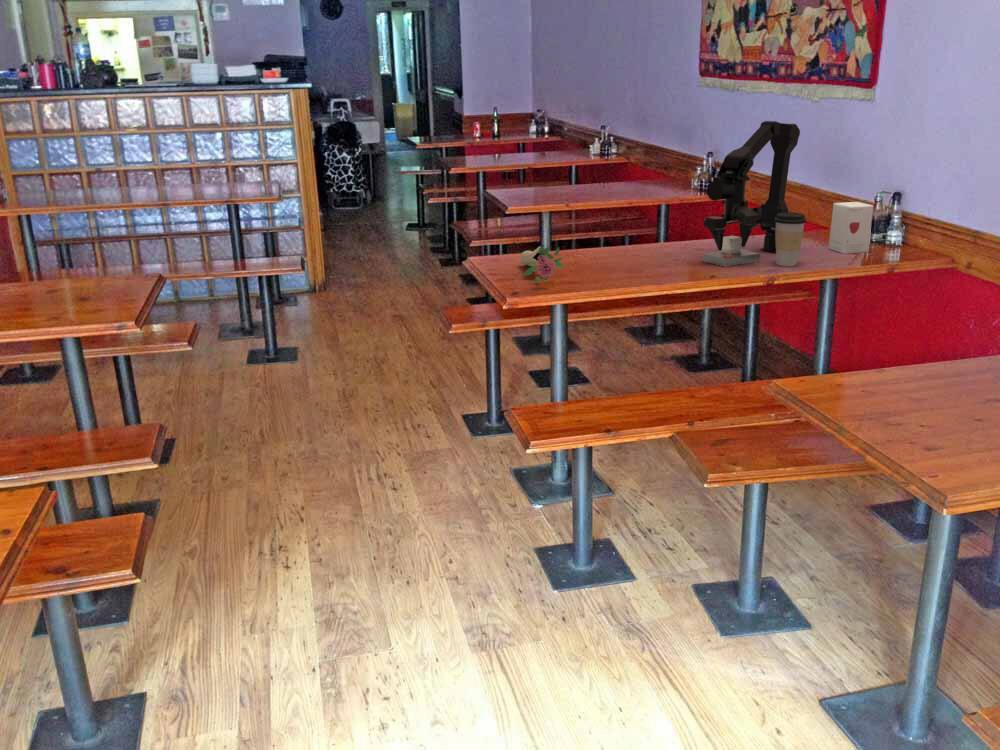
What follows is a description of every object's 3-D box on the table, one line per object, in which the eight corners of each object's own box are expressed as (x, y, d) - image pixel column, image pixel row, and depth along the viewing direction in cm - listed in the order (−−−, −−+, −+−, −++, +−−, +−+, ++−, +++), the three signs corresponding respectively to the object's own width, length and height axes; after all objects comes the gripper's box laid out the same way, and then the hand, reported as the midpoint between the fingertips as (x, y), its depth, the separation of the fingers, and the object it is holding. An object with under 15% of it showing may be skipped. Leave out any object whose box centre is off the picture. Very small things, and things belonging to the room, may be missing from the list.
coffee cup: (779, 268, 276) (783, 217, 271) (764, 262, 285) (768, 212, 280) (808, 266, 278) (813, 216, 273) (793, 260, 287) (797, 211, 282)
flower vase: (539, 290, 287) (567, 291, 252) (501, 280, 284) (524, 280, 250) (549, 253, 286) (578, 249, 252) (511, 243, 284) (535, 237, 249)
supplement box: (843, 254, 294) (848, 206, 289) (827, 249, 302) (832, 202, 297) (869, 252, 295) (874, 205, 291) (852, 247, 304) (857, 201, 299)
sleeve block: (736, 256, 294) (737, 246, 293) (759, 261, 285) (760, 252, 284) (702, 261, 287) (702, 251, 287) (724, 267, 279) (724, 257, 278)
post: (731, 259, 289) (732, 235, 287) (740, 261, 286) (742, 237, 283) (720, 260, 287) (722, 236, 285) (730, 263, 284) (731, 239, 281)
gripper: (729, 203, 269) (726, 256, 274) (777, 197, 278) (773, 249, 283) (703, 198, 279) (701, 250, 284) (751, 193, 287) (747, 243, 292)
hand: (731, 248), depth 285 cm, fingers open, 9 cm apart
